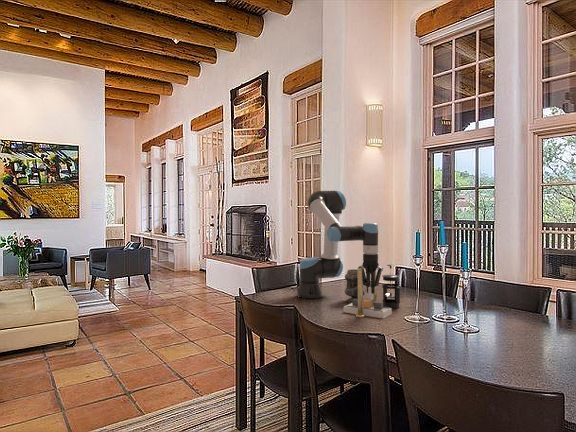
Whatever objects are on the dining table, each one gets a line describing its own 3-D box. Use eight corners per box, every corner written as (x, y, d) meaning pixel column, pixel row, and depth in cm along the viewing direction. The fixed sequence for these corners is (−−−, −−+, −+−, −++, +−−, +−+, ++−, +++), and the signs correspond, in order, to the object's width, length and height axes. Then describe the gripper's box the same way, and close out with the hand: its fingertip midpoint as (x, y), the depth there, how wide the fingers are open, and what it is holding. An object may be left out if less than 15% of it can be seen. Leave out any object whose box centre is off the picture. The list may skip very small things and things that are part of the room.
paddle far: (373, 308, 211) (373, 302, 211) (375, 307, 213) (375, 301, 213) (381, 309, 208) (381, 303, 208) (383, 308, 210) (382, 302, 210)
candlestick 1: (354, 316, 207) (353, 268, 207) (358, 314, 211) (358, 267, 210) (362, 318, 205) (361, 269, 204) (366, 316, 208) (366, 268, 208)
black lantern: (377, 305, 230) (377, 264, 229) (391, 303, 234) (391, 262, 233) (391, 310, 219) (391, 266, 219) (405, 308, 223) (405, 265, 223)
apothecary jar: (364, 298, 247) (364, 268, 247) (366, 303, 235) (366, 271, 235) (344, 298, 248) (343, 268, 248) (344, 303, 236) (344, 271, 236)
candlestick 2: (368, 310, 220) (368, 264, 220) (372, 308, 224) (371, 263, 223) (376, 311, 218) (375, 265, 217) (379, 309, 221) (379, 264, 221)
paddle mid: (362, 306, 214) (362, 300, 214) (364, 305, 216) (364, 300, 216) (369, 307, 212) (369, 301, 212) (372, 306, 214) (372, 300, 214)
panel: (343, 312, 217) (343, 305, 217) (352, 308, 225) (352, 301, 225) (383, 318, 204) (383, 311, 204) (391, 314, 212) (391, 307, 212)
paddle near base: (352, 305, 218) (352, 299, 218) (354, 304, 220) (354, 298, 220) (359, 306, 216) (359, 300, 215) (361, 305, 217) (361, 299, 217)
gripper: (355, 253, 213) (355, 299, 214) (379, 254, 206) (379, 302, 206) (362, 251, 219) (362, 296, 220) (385, 253, 212) (385, 299, 212)
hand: (370, 299), depth 213 cm, fingers closed
